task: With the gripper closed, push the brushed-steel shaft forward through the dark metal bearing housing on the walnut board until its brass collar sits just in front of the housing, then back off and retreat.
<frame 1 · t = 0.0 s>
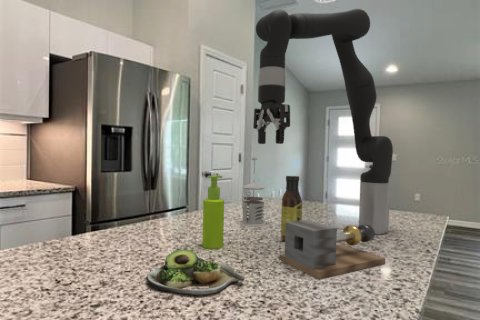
hand: (270, 143, 96), 29 cm above the countertop, fingers open, 8 cm apart
salad plate: (191, 280, 73), on the countertop
french press: (251, 225, 127), on the countertop
soap dispenser: (213, 246, 98), on the countertop
bearing block: (331, 262, 85), on the countertop
shaft: (341, 236, 87), point 6 cm above the countertop, slide at 0.0 cm
sauce bottle: (290, 240, 105), on the countertop
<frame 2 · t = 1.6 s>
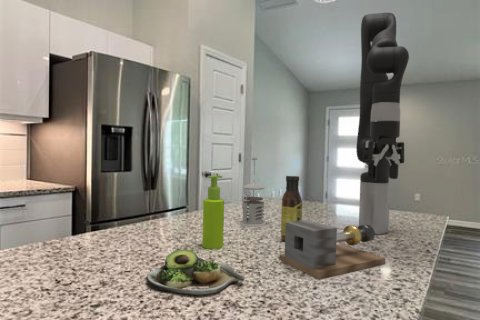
hand: (383, 179, 95), 20 cm above the countertop, fingers open, 8 cm apart
nothing on the countertop moved.
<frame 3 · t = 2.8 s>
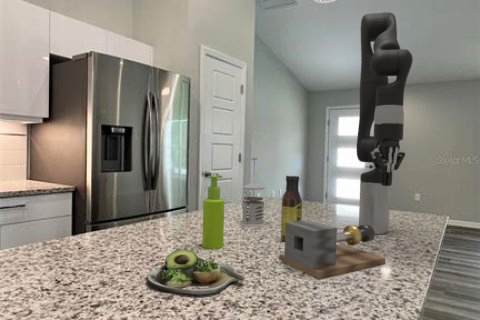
hand: (386, 185, 95), 18 cm above the countertop, fingers closed
nothing on the countertop moved.
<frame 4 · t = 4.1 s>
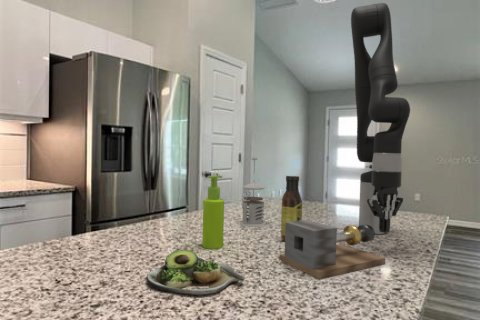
hand: (384, 231, 95), 6 cm above the countertop, fingers closed
nothing on the countertop moved.
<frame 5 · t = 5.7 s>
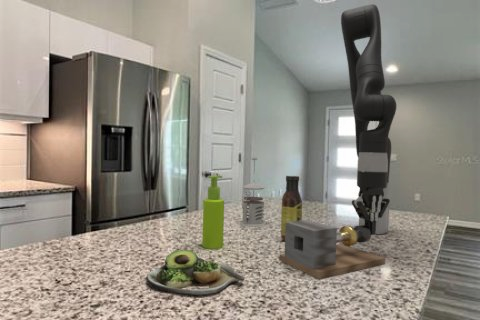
hand: (369, 234, 92), 6 cm above the countertop, fingers closed
shaft: (337, 237, 86), point 6 cm above the countertop, slide at 1.5 cm, touching gripper
everything else where it was.
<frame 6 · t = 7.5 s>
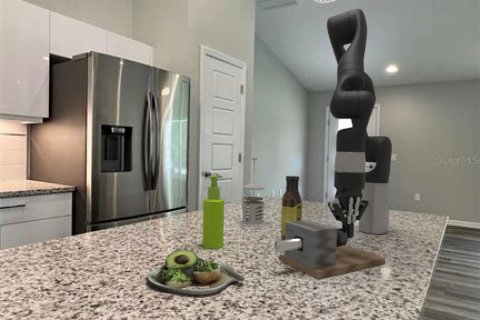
hand: (347, 237, 88), 6 cm above the countertop, fingers closed
shaft: (311, 241, 82), point 6 cm above the countertop, slide at 10.0 cm, touching gripper
everything else where it was.
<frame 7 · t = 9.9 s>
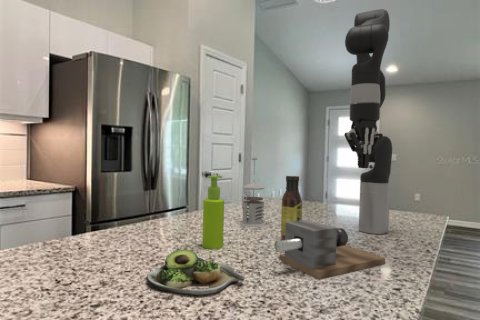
hand: (363, 168, 92), 23 cm above the countertop, fingers closed
shaft: (311, 241, 82), point 6 cm above the countertop, slide at 10.0 cm
everything else where it was.
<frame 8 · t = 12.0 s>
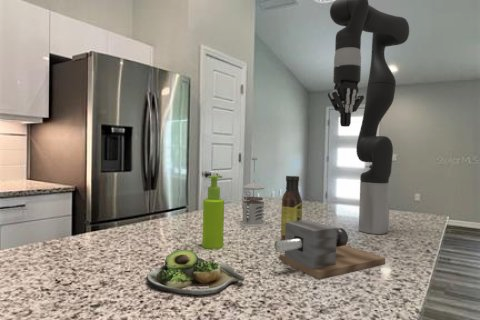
hand: (345, 126, 100), 35 cm above the countertop, fingers closed
nothing on the countertop moved.
at the end: shaft slide at 10.0 cm; sauce bottle moved 0.2 cm from its start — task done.
